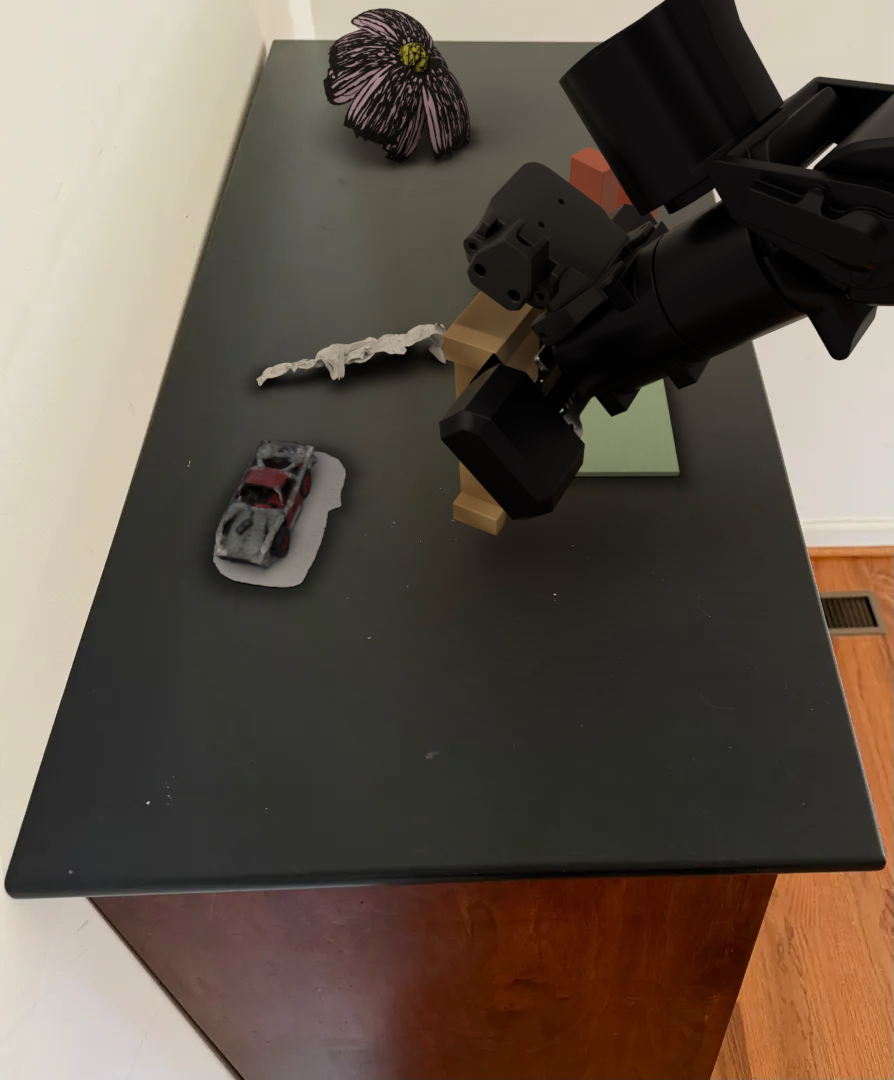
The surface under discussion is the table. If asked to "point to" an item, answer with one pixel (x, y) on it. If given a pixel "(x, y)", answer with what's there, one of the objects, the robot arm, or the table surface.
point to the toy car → (278, 514)
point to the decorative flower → (396, 86)
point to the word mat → (630, 437)
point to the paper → (364, 351)
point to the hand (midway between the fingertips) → (476, 402)
